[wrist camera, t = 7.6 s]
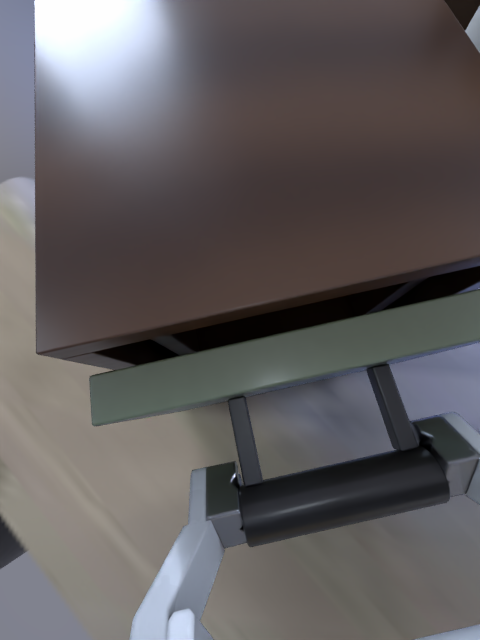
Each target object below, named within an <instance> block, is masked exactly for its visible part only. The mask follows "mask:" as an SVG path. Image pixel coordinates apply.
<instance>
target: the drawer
mask: <svg viewBox="0 0 480 640" xmlns="http://www.w3.org/2000/svg"><path fill="white" fill-rule="evenodd" d="M427 278H429V277H427ZM427 278H423V279H418V280H414V281H409V282H405V283H400V284H396V285H391V286H387V287H382V288H378V289H373V290H369V291H364V292H360V293H355V294H351V295H346V296H342V297H337V298H333V299H328V300H324V301H319V302H315V303H310V304H306V305H301V306H297V307H292V308H288V309H283V310H279V311H274V312H270V313H265V314H261V315H256V316H252V317H247V318H243V319H238V320H234V321H229V322H225V323H220V324H216V325H211V326H207V327H202V328H198V329H193V330H189V331H184V332H180V333H176V334H171V335H167V336H162V337H158V338H153V339H151V340H153V341H155V342H156V343H158V344H160V345H162V346H164V347H165V348H167V349H169V350H171V351H173V352H174V353H176V354H178V355H180V356H176V357H172V358H167V359H163V360H158V361H154V362H149V363H145V364H140V365H136V366H131V367H127V368H123V369H118V370H114V371H109V372H105V373H100V374H96V375H92V376H90V378H89V381H90V398H91V415H92V425H93V426H101V425H107V424H112V423H118V422H124V421H129V420H135V419H141V418H146V417H152V416H157V415H163V414H169V413H174V412H180V411H185V410H190V409H195V408H199V407H203V406H208V405H212V404H217V403H221V402H226V401H228V405H229V410H230V415H231V421H232V426H233V431H234V436H235V441H236V446H237V451H238V457H239V462H240V467H241V472H242V477H243V482H244V485H241V486H240V487H239V495H240V501H241V510H242V517H243V528H244V533H245V537H246V541H247V543H248V546H249V547H255V546H259V545H263V544H268V543H272V542H277V541H281V540H285V539H290V538H294V537H298V536H303V535H307V534H312V533H316V532H320V531H325V530H329V529H334V528H338V527H342V526H347V525H351V524H356V523H360V522H364V521H369V520H373V519H377V518H382V517H386V516H391V515H395V514H399V513H404V512H408V511H413V510H417V509H421V508H426V507H430V506H435V505H439V504H443V503H447V502H448V501H449V499H450V487H449V483H448V481H447V478H446V477H445V475H444V473H443V471H442V469H441V467H440V465H439V464H438V462H437V461H436V460H435V458H434V457H433V456H432V455H431V454H430V452H429V451H428V450H427V449H425V448H424V447H422V446H418V443H417V440H416V438H415V435H414V432H413V430H412V427H411V424H410V421H409V419H408V416H407V413H406V410H405V408H404V405H403V402H402V400H401V397H400V394H399V391H398V389H397V386H396V383H395V380H394V378H393V375H392V372H391V370H390V367H389V365H391V364H395V363H399V362H403V361H407V360H411V359H415V358H419V357H423V356H427V355H431V354H435V353H439V352H443V351H447V350H451V349H455V348H459V347H463V346H467V345H471V344H475V343H479V342H480V289H477V290H472V291H468V292H463V293H459V294H454V295H450V296H445V297H441V298H436V299H432V300H427V301H423V302H418V303H414V304H410V305H405V306H401V307H396V308H392V309H387V310H383V309H384V308H386V307H387V306H388V305H390V304H391V303H393V302H394V301H396V300H397V299H399V298H400V297H401V296H403V295H404V294H406V293H407V292H409V291H410V290H411V289H413V288H414V287H416V286H417V285H419V284H420V283H421V282H423V281H424V280H426V279H427ZM381 310H383V311H381ZM364 370H367V373H368V376H369V379H370V382H371V385H372V388H373V391H374V394H375V397H376V400H377V403H378V406H379V408H380V411H381V414H382V417H383V420H384V423H385V426H386V429H387V432H388V435H389V438H390V441H391V444H392V446H393V448H394V449H396V450H394V451H390V452H385V453H381V454H376V455H372V456H367V457H363V458H359V459H354V460H350V461H345V462H341V463H337V464H332V465H328V466H323V467H319V468H314V469H310V470H306V471H301V472H297V473H292V474H288V475H284V476H279V477H275V478H270V479H266V480H263V478H262V473H261V468H260V463H259V458H258V454H257V449H256V444H255V440H254V435H253V430H252V426H251V421H250V416H249V411H248V407H247V402H246V398H245V397H248V396H252V395H257V394H261V393H266V392H270V391H275V390H279V389H284V388H288V387H293V386H297V385H302V384H306V383H310V382H315V381H319V380H324V379H328V378H333V377H337V376H342V375H346V374H351V373H355V372H359V371H364Z"/></svg>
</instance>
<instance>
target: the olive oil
mask: <svg viewBox="0 0 480 640" xmlns="http://www.w3.org/2000/svg"><path fill="white" fill-rule="evenodd" d="M444 1H445V2H446V4H447V5H448V7H449V8H450V10H451V11H452V13H453V14H454V16H455V17H456V18H457V20H458V21H459V23H460V24H461V26H462V27H463V29H464V30H466V29H467V27H468V25H469V23H470V22H471V20H472V18H473V16H474V15H475V13H476V11H477V9H478V8H479V6H480V0H444Z"/></svg>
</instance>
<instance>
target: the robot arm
mask: <svg viewBox="0 0 480 640" xmlns="http://www.w3.org/2000/svg"><path fill="white" fill-rule="evenodd" d="M410 424H411V427H412V430H413V432H414V435H415V438H416V440H417V443H418V446H422V447H424V448H425V449H427V450H428V451H429V452H430V454H431V455H432V456H433V457H434V458H435V460H436V461H437V462H438V464H439V465H440V467H441V469H442V471H443V473H444V475H445V477H446V478H447V481H448V483H449V487H450V497H453V496H458V495H463V494H466V496H467V497H469V498H470V499H472V500H473V501H474V502H476V503H477V504H479V505H480V434H479V433H478V432H477V431H476V430H475V429H474V428H473V427H472V426H471V425H470V424H469V423H468V422H466V421H465V420H464V419H463V418H462V417H461V416H460V415H459V414H457V413H455V412H448V413H444V414H440V415H434V416H430V417H426V418H422V419H418V420H414V421H410ZM241 485H243V483H242V479H241V476H240V474H238V466H237V463H236V461H233V462H228V463H224V464H219V465H215V466H210V467H204V468H200V469H196V470H192V473H191V479H190V499H189V519H188V525H186V526H183V528H182V530H181V532H180V534H179V536H178V537H177V539H176V541H175V543H174V545H173V547H172V548H171V550H170V552H169V554H168V556H167V558H166V559H165V561H164V563H163V565H162V567H161V569H160V570H159V572H158V574H157V576H156V578H155V580H154V581H153V583H152V585H151V587H150V589H149V591H148V592H147V594H146V596H145V598H144V600H143V602H142V604H141V605H140V607H139V609H138V611H137V613H136V615H135V616H134V618H133V623H132V629H131V635H130V640H214V639H213V637H212V636H211V635H210V634H209V632H208V631H207V630H206V628H205V627H204V626H203V625H202V623H201V622H200V620H201V617H202V614H203V611H204V608H205V606H206V603H207V600H208V597H209V594H210V591H211V589H212V586H213V583H214V580H215V577H216V574H217V572H218V569H219V566H220V563H221V560H222V558H223V555H224V552H225V550H224V549H225V548H229V547H233V546H236V545H240V544H244V543H247V541H246V537H245V533H244V528H243V517H242V510H241V501H240V495H239V487H240V486H241ZM413 640H480V624H479V625H474V626H470V627H466V628H461V629H457V630H452V631H448V632H444V633H439V634H435V635H431V636H426V637H422V638H418V639H413Z"/></svg>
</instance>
